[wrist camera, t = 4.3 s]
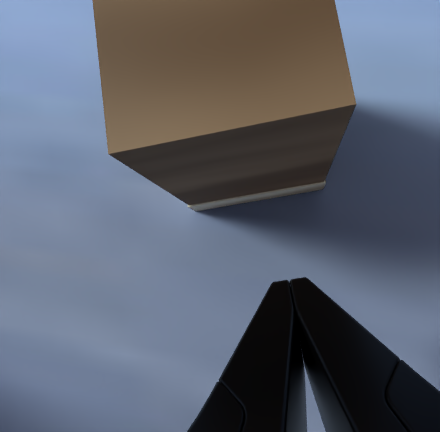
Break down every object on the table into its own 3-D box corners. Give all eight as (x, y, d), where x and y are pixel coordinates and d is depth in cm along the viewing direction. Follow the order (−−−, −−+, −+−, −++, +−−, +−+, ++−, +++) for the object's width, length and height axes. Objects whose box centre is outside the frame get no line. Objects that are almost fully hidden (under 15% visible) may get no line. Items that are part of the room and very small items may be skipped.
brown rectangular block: (323, 189, 15) (359, 105, 7) (195, 211, 16) (106, 156, 8) (304, 90, 16) (319, -82, 8) (182, 116, 17) (88, -19, 9)
